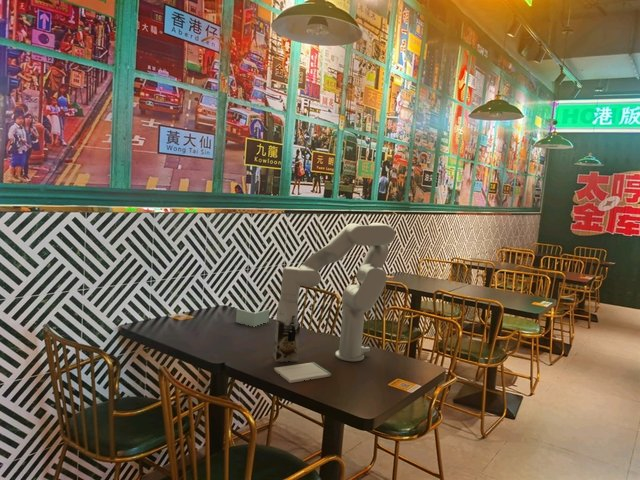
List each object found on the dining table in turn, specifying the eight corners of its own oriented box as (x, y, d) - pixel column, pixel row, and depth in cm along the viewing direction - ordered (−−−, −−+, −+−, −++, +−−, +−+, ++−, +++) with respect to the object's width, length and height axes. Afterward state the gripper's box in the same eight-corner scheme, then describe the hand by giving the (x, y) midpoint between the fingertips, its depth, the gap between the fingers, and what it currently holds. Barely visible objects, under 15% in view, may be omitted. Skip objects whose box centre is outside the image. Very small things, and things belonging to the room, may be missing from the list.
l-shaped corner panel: (268, 323, 250) (269, 309, 249) (253, 328, 239) (254, 313, 239) (250, 319, 256) (251, 305, 255) (235, 323, 246) (236, 309, 245)
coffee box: (275, 362, 193) (278, 323, 191) (273, 356, 199) (275, 319, 197) (297, 361, 195) (300, 323, 194) (294, 356, 201) (297, 319, 200)
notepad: (313, 364, 193) (313, 361, 193) (331, 376, 182) (331, 373, 182) (274, 370, 184) (274, 367, 184) (290, 382, 173) (290, 380, 173)
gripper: (271, 292, 200) (268, 331, 201) (291, 302, 185) (287, 344, 187) (287, 292, 204) (283, 330, 205) (308, 301, 189) (303, 343, 191)
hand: (285, 337), depth 196 cm, fingers open, 9 cm apart
